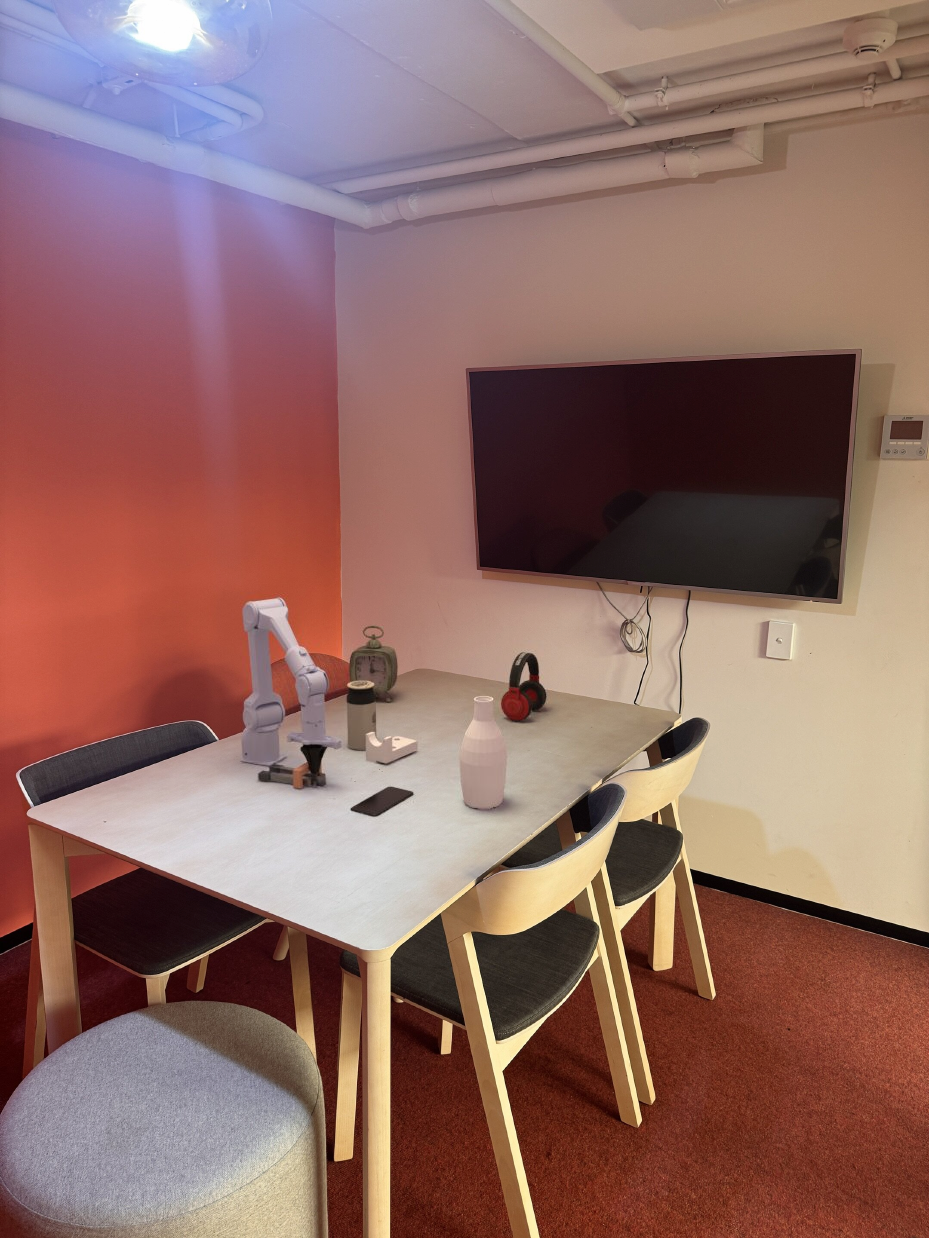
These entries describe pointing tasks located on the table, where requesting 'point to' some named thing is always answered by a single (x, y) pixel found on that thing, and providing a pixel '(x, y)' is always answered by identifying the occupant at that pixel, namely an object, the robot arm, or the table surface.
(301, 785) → the orange bridge block
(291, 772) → the base
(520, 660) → the headphones
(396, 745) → the bracket
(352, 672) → the tabletop clock
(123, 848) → the table surface
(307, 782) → the tong arm
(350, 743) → the travel mug
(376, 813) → the smartphone
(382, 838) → the table surface
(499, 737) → the bottle
